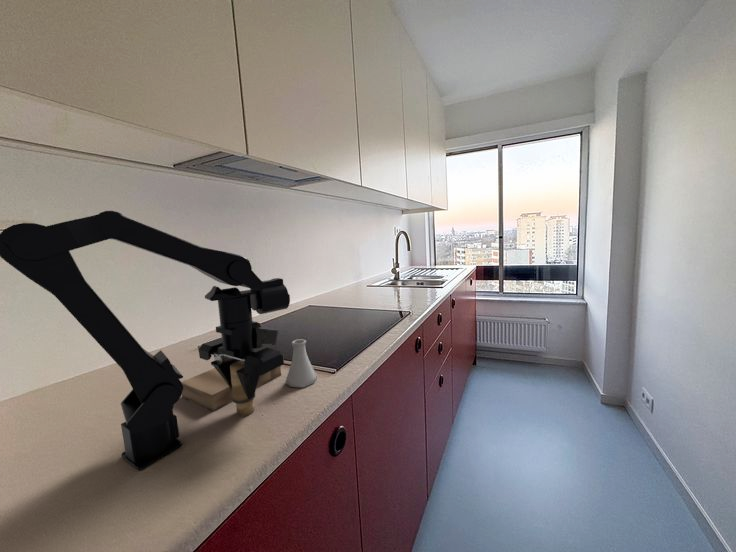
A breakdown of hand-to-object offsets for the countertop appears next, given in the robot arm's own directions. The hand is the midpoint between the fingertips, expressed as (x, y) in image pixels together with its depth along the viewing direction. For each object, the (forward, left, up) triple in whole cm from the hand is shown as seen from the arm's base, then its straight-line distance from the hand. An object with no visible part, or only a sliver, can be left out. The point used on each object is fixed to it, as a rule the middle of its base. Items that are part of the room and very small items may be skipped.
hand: (244, 395), depth 61 cm
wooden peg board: (+6, +12, -4) cm, 14 cm away
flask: (+15, -1, -4) cm, 16 cm away
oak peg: (0, 0, -4) cm, 4 cm away
